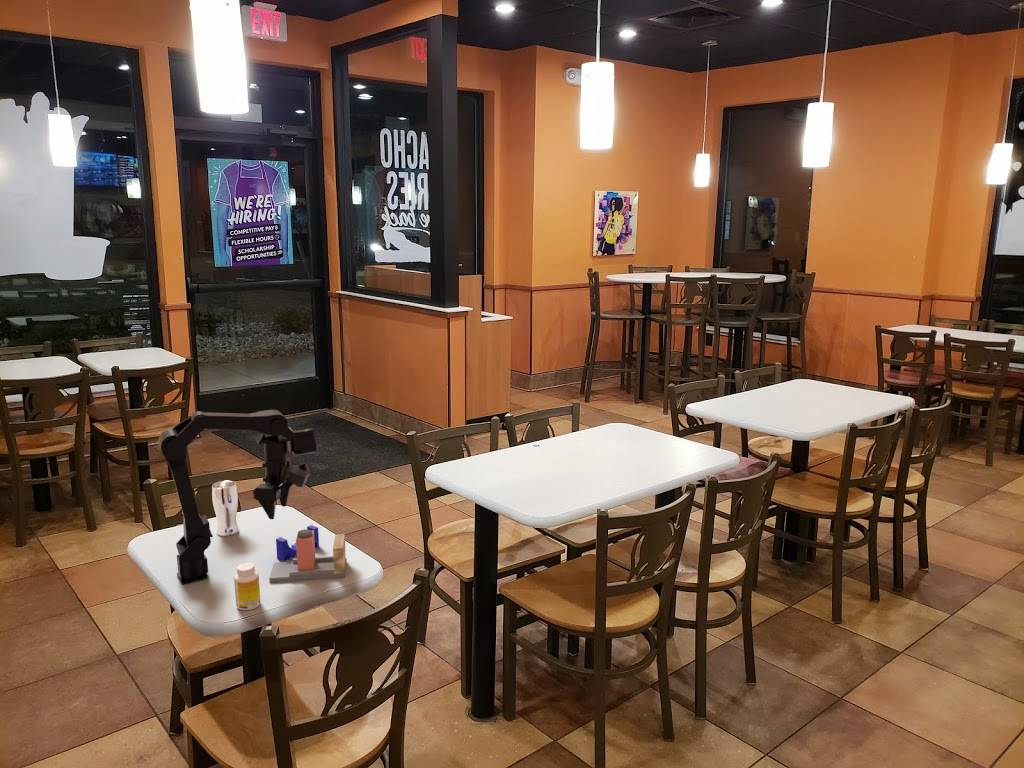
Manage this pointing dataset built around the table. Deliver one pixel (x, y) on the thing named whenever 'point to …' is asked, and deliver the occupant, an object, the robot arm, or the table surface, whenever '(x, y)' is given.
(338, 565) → the socket block
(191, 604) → the table surface
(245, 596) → the supplement bottle
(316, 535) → the blue curved piece
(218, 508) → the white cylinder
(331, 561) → the socket board
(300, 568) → the orange upright block
